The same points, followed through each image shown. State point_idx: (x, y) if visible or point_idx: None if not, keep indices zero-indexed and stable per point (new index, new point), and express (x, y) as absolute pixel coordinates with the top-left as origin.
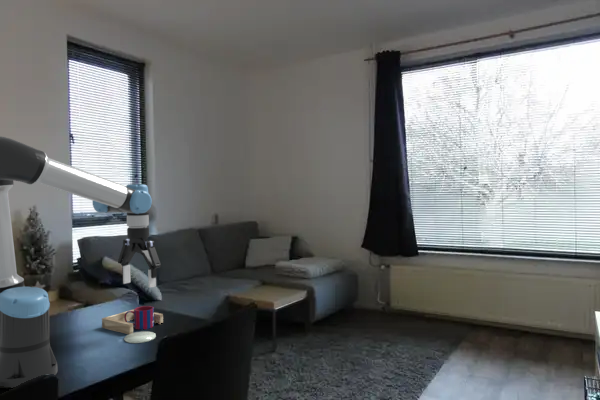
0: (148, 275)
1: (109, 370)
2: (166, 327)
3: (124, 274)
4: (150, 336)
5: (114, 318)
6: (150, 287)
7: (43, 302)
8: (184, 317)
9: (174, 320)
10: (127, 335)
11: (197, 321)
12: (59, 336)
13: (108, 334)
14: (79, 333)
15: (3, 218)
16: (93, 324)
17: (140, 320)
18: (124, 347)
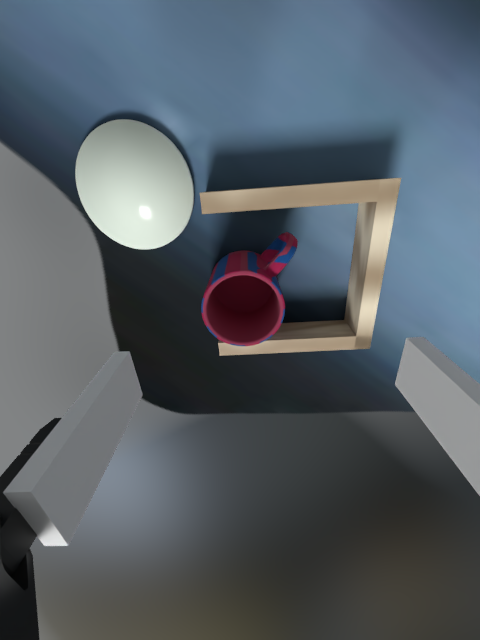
0: (75, 424)
1: None
2: (176, 317)
3: (461, 391)
4: (103, 212)
5: (367, 235)
6: (114, 356)
7: None
8: (219, 401)
9: (218, 371)
10: (181, 164)
11: (156, 395)
12: None
13: (282, 138)
14: (418, 53)
15: None
16: (454, 187)
17: (222, 264)
18: (72, 65)
